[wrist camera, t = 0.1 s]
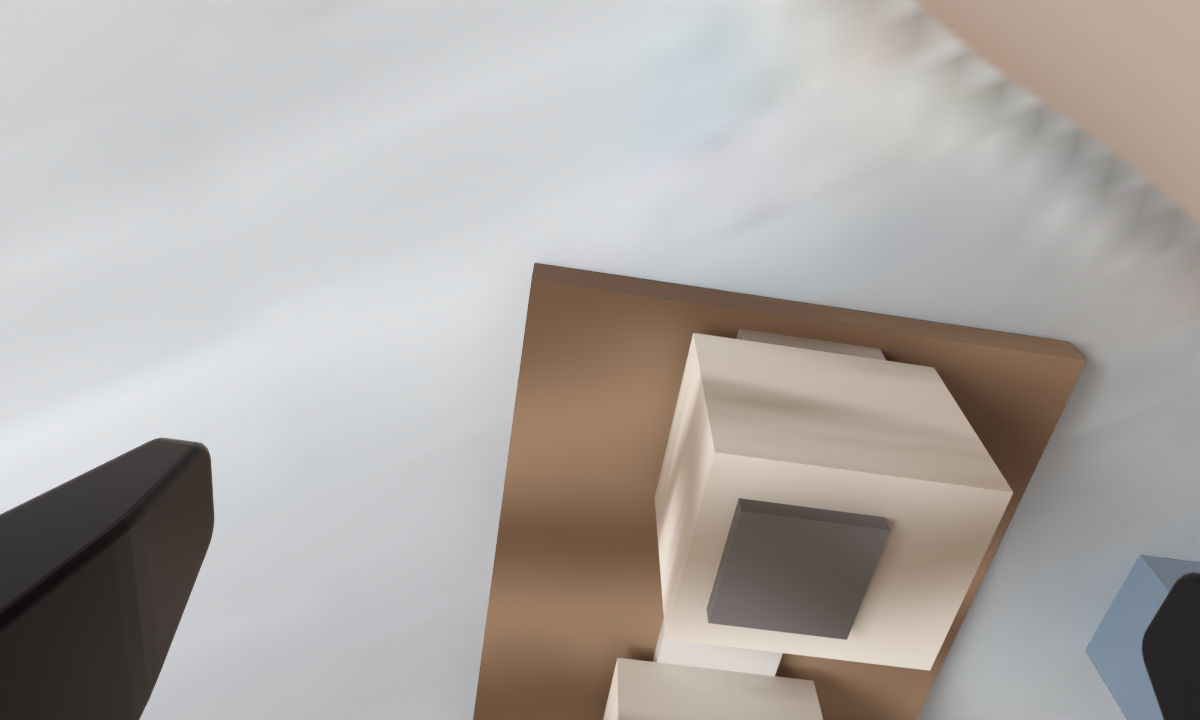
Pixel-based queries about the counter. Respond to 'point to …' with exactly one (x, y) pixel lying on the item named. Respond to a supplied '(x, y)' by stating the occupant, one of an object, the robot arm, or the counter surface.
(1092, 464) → the counter surface
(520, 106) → the counter surface
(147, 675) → the robot arm
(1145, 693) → the block
